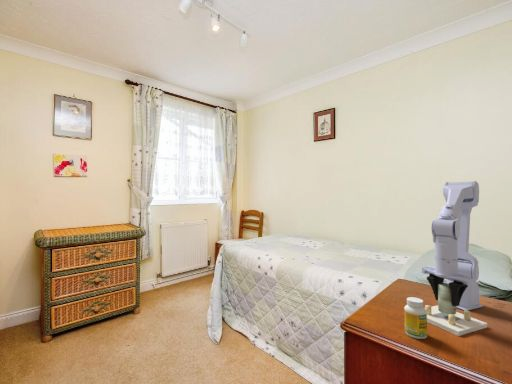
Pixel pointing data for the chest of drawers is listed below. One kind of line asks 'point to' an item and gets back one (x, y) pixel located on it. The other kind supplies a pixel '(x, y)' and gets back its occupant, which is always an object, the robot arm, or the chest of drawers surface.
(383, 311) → the chest of drawers surface
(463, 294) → the robot arm
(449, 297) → the peg
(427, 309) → the base plate
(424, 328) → the supplement bottle
